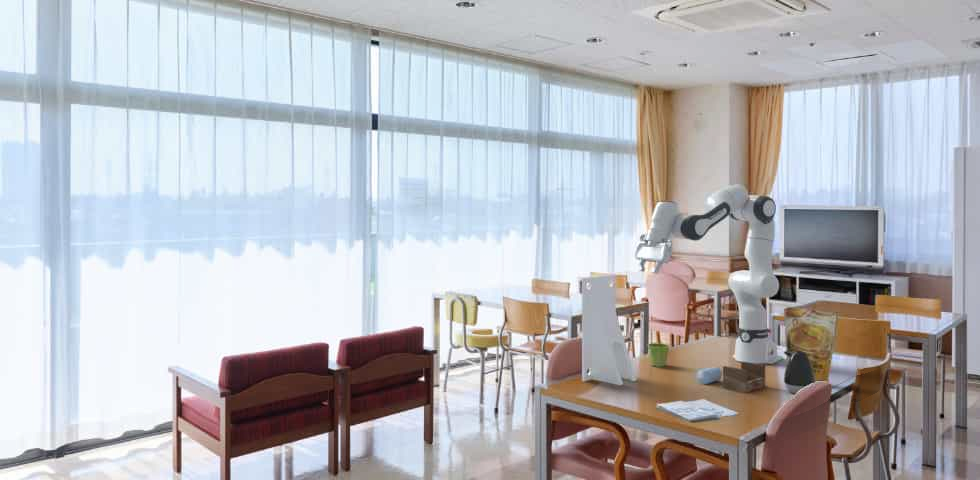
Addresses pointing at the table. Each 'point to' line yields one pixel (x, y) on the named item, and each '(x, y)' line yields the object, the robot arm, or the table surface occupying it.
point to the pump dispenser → (798, 371)
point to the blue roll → (709, 375)
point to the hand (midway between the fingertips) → (648, 272)
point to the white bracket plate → (603, 333)
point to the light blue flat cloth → (696, 410)
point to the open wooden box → (744, 377)
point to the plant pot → (658, 354)
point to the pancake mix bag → (812, 337)
